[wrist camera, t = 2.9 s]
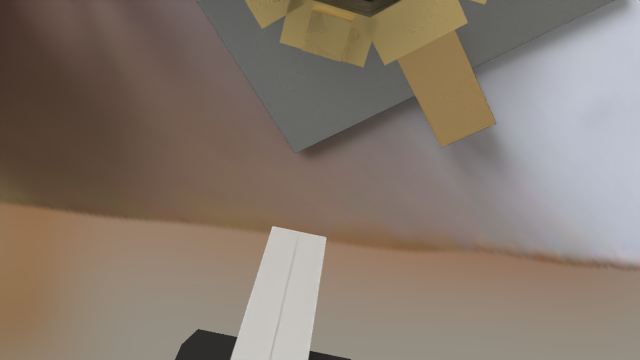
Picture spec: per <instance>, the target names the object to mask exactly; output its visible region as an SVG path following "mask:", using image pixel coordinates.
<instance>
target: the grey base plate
mask: <svg viewBox="0 0 640 360" xmlns="http://www.w3.org/2000/svg"><path fill="white" fill-rule="evenodd" d="M196 1H197V3H198V4H199V6H200V7H201V9H202V10H203V12H204V13H205V15H206V16H207V18H208V20H209V21H210V23H211V24H212V26H213V27H214V29H215V30H216V32H217V34H218V35H219V37H220V38H221V40H222V41H223V43H224V44H225V46H226V47H227V49H228V51H229V52H230V54H231V55H232V57H233V58H234V60H235V61H236V63H237V65H238V66H239V68H240V69H241V71H242V72H243V74H244V75H245V77H246V78H247V80H248V82H249V83H250V85H251V86H252V88H253V89H254V91H255V92H256V94H257V95H258V97H259V99H260V100H261V102H262V103H263V105H264V106H265V108H266V109H267V111H268V113H269V114H270V116H271V117H272V119H273V120H274V122H275V123H276V125H277V126H278V128H279V130H280V131H281V133H282V134H283V136H284V137H285V139H286V140H287V142H288V143H289V145H290V147H291V148H292V150H293V151H294V153H297V152H299V151H301V150H303V149H305V148H307V147H309V146H311V145H314V144H316V143H318V142H320V141H322V140H324V139H326V138H328V137H330V136H332V135H334V134H336V133H338V132H341V131H343V130H345V129H347V128H349V127H351V126H353V125H355V124H357V123H359V122H361V121H363V120H366V119H368V118H370V117H372V116H374V115H376V114H378V113H380V112H382V111H384V110H386V109H388V108H391V107H393V106H395V105H397V104H399V103H401V102H403V101H405V100H407V99H409V98H411V97H413V96H415V94H414V92H413V90H412V88H411V86H410V84H409V82H408V80H407V78H406V76H405V74H404V72H403V70H402V68H401V66H400V64H399V62H398V60H397V59H396V60H394V61H392V62H390V63H388V64H386V65H384V63H383V61H382V59H381V57H380V55H379V53H378V51H377V50H376V48H375V46H374V44H373V42H371V45H370V48H369V51H368V54H367V58H366V61H365V64H364V67H360V66H357V65H354V64H350V63H347V62H343V61H336V60H333V59H329V58H326V57H323V56H319V55H316V54H313V53H309V52H306V51H302V49H300V48H296V47H293V46H289V45H286V44H283V43H280V38H281V34H282V30H283V25H284V21H285V17H286V15H285V16H283V17H282V18H280V19H278V20H276V21H275V22H273V23H271V24H270V25H268V26H266V27H264V28H263V29H262V28H261V26H260V25H259V23H258V21H257V20H256V18H255V17H254V15H253V13H252V12H251V10H250V8H249V7H248V5H247V3H246V2H245V0H196ZM364 1H368V2H372V1H374V0H364ZM458 1H459V3H460V5H461V8H462V10H463V12H464V15H465V17H466V19H467V22H468V23H467V24H465V25H463V26H461V27H459V28H457V29H455V31H456V34H457V36H458V38H459V40H460V43H461V45H462V47H463V50H464V52H465V54H466V56H467V59H468V61H469V63H470V65H471V68H474V67H476V66H478V65H480V64H482V63H484V62H486V61H488V60H491V59H493V58H495V57H497V56H499V55H501V54H503V53H505V52H507V51H509V50H511V49H513V48H516V47H518V46H520V45H522V44H524V43H526V42H528V41H530V40H532V39H534V38H536V37H538V36H541V35H543V34H545V33H547V32H549V31H551V30H553V29H555V28H557V27H559V26H561V25H563V24H566V23H568V22H570V21H572V20H574V19H576V18H578V17H580V16H582V15H584V14H586V13H588V12H591V11H593V10H595V9H597V8H599V7H601V6H603V5H605V4H607V3H609V2H611V1H613V0H487V1H486V3H485V4H482V3H478V2H475V1H472V0H458Z"/></svg>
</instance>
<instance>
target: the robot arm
mask: <svg viewBox="0 0 640 360" xmlns="http://www.w3.org/2000/svg"><path fill="white" fill-rule="evenodd" d="M326 238H327V237H323V236H318V235H313V234H308V233H303V232H298V231H294V230H289V229H284V228H279V227H274V226H272V229H271V233H270V236H269V239H268V242H267V245H266V248H265V252H264V255H263V258H262V261H261V264H260V267H259V271H258V274H257V277H256V280H255V283H254V286H253V290H252V293H251V296H250V299H249V302H248V306H247V309H246V312H245V315H244V318H243V322H242V325H241V328H240V331H239V334H238V337H234V336H228V335H224V334H219V333H214V332H209V331H205V330H199V329H198V330H197V331H196V332H195V333H194V334H192V336H190V337H189V338H188V339H187V340H186V341H185V342H184V343H183V344H182V345H181V347H180V350H179V352H178V354H177V357H176V359H175V360H351V359H347V358H342V357H337V356H332V355H328V354H322V353H318V352H313V351H310V345H311V338H312V331H313V324H314V318H315V311H316V304H317V297H318V291H319V285H320V278H321V271H322V265H323V258H324V251H325V245H326Z"/></svg>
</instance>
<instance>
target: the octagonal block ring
mask: <svg viewBox="0 0 640 360" xmlns="http://www.w3.org/2000/svg"><path fill="white" fill-rule="evenodd" d="M472 1H475V2H478V3H482V4H485V3H486V1H487V0H472ZM245 2H246V3H247V5H248V7H249V8H250V10H251V12H252V13H253V15H254V17H255V18H256V20H257V21H258V23H259V25H260V26H261V28H262V29H263V28H264V27H266V26H268V25H270V24H271V23H273V22H275V21H276V20H278V19H280V18H282V17H283V16H285V15H286V17H285V21H284V25H283V30H282V34H281V38H280V43H283V44H286V45H289V46H293V47H296V48H300V49H302V51H306V52H309V53H313V54H316V55H319V56H323V57H326V58H329V59H333V60H336V61H343V62H347V63H350V64H354V65H357V66H360V67H364V64H365V61H366V58H367V54H368V51H369V48H370V45H371V42H373V44H374V46H375V48H376V50H377V51H378V53H379V55H380V57H381V59H382V61H383V63H384V65H386V64H388V63H390V62H392V61H394V60H396V59H397V60H398V62H399V64H400V66H401V68H402V70H403V72H404V74H405V76H406V78H407V80H408V82H409V84H410V86H411V88H412V90H413V92H414V94H415V96H416V98H417V100H418V102H419V104H420V106H421V108H422V110H423V112H424V114H425V116H426V118H427V120H428V122H429V124H430V126H431V128H432V130H433V132H434V134H435V136H436V138H437V140H438V142H439V144H440V146H441V147H443V146H445V145H448V144H450V143H452V142H454V141H457V140H459V139H461V138H464V137H466V136H468V135H470V134H473V133H475V132H477V131H480V130H482V129H484V128H486V127H489V126H491V125H493V124H495V123H496V122H495V120H494V117H493V115H492V113H491V111H490V108H489V106H488V104H487V102H486V99H485V97H484V95H483V92H482V90H481V88H480V86H479V83H478V81H477V79H476V77H475V74H474V72H473V70H472V68H471V65H470V63H469V61H468V59H467V56H466V54H465V52H464V50H463V47H462V45H461V43H460V40H459V38H458V36H457V34H456V31H455V29H457V28H459V27H461V26H463V25H465V24H467V23H468V22H467V19H466V17H465V15H464V12H463V10H462V8H461V5H460V3H459V1H458V0H374V1H372V2H368V1H364V0H245Z"/></svg>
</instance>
